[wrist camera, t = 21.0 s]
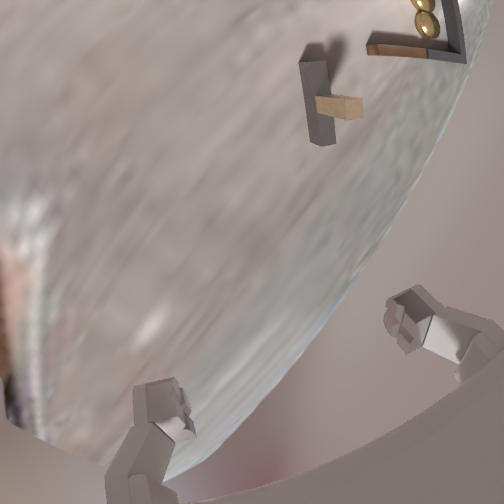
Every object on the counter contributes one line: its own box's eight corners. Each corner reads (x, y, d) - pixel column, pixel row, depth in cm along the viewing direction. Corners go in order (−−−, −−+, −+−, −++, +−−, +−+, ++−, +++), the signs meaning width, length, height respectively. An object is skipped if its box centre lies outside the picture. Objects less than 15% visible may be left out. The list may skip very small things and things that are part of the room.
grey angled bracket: (400, -31, 24) (411, -34, 22) (442, -17, 25) (453, -19, 23) (417, 57, 32) (429, 58, 30) (455, 62, 33) (466, 64, 31)
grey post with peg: (298, 62, 30) (339, 59, 22) (313, 61, 30) (357, 58, 23) (309, 141, 35) (350, 159, 28) (323, 138, 35) (366, 156, 28)
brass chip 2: (410, 13, 28) (417, 13, 27) (427, 11, 28) (434, 10, 27) (419, 40, 31) (427, 40, 29) (435, 36, 31) (443, 36, 29)
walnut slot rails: (347, -43, 22) (358, -48, 20) (397, -32, 24) (409, -35, 22) (367, 55, 31) (379, 55, 29) (414, 57, 32) (426, 58, 30)
